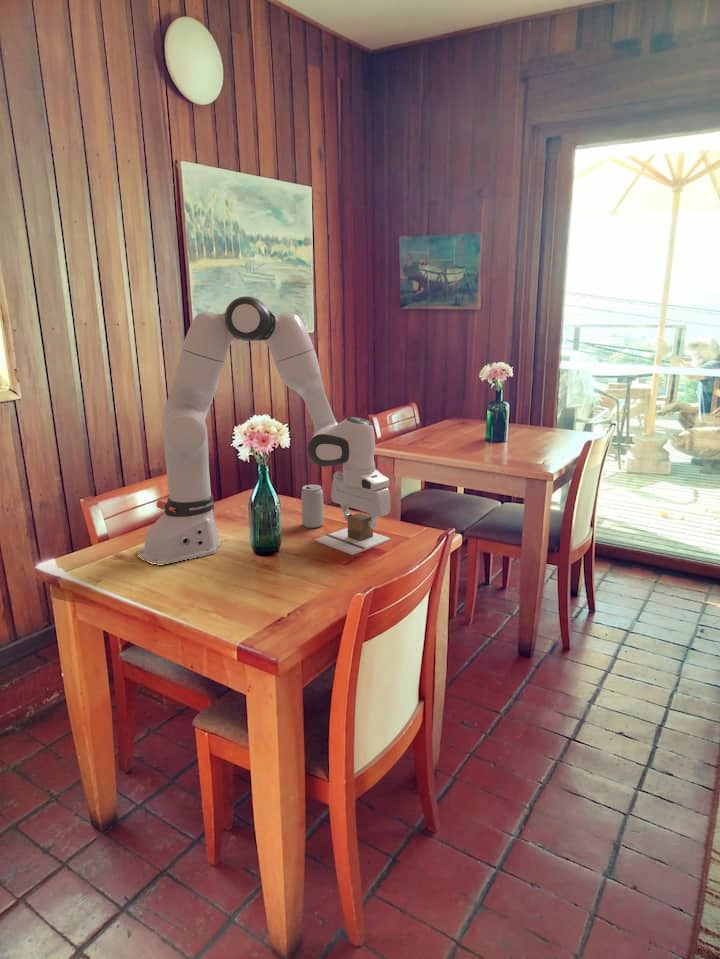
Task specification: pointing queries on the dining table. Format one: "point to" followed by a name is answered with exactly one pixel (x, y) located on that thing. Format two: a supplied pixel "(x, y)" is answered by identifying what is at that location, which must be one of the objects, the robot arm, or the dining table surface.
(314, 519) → the beverage can
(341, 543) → the board
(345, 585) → the dining table surface
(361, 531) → the walnut block
